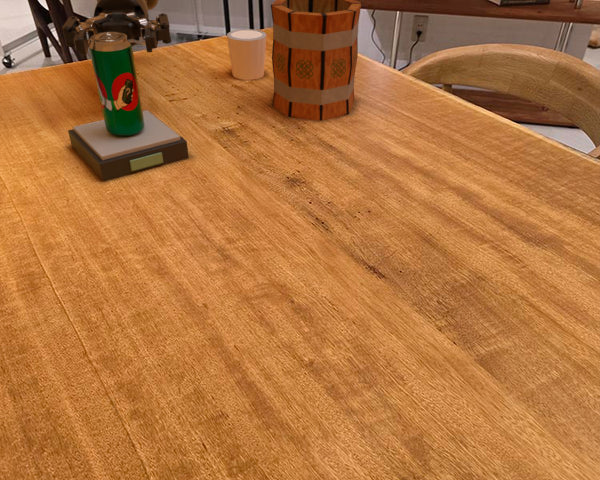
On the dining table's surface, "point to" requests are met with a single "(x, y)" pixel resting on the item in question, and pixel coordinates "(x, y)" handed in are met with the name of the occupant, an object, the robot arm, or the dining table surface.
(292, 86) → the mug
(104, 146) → the scale
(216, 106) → the dining table surface
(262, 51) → the white cup
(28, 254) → the dining table surface
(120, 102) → the soda can
